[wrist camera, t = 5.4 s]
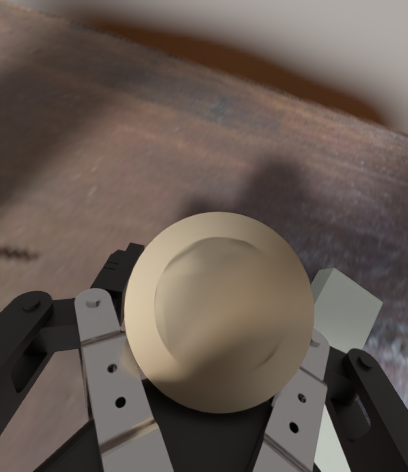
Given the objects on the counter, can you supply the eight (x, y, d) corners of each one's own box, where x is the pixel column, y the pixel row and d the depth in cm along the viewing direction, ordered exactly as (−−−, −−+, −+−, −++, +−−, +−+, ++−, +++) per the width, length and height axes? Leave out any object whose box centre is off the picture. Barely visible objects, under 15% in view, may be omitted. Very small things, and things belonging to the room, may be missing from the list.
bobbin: (137, 306, 18) (79, 330, 6) (183, 246, 19) (201, 178, 8) (199, 352, 18) (252, 460, 6) (240, 288, 19) (344, 281, 8)
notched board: (243, 406, 17) (252, 420, 16) (318, 270, 21) (334, 267, 19) (442, 555, 17) (477, 588, 15) (489, 392, 20) (523, 402, 18)
